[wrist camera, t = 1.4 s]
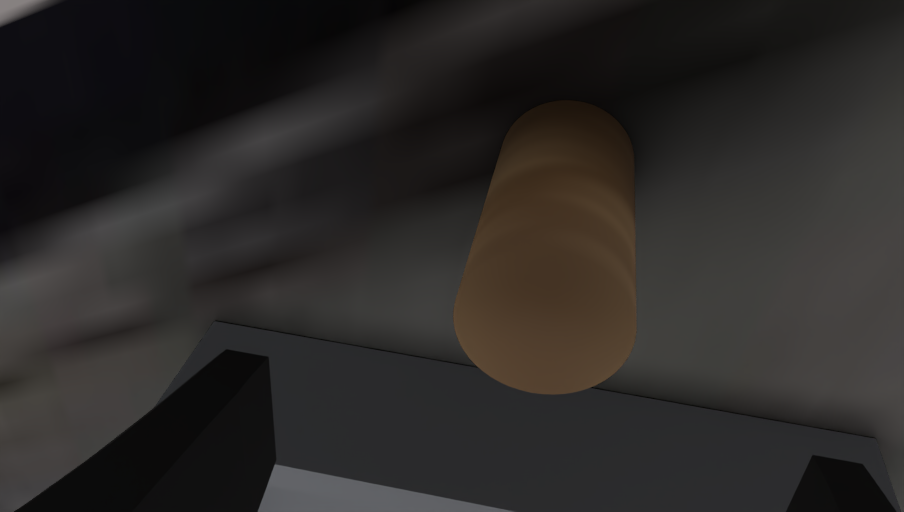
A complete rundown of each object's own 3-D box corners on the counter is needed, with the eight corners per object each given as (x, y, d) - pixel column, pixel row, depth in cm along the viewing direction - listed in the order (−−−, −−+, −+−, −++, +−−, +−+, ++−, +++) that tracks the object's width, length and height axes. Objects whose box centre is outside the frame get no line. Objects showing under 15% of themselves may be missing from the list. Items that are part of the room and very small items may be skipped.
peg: (646, 110, 17) (654, 265, 12) (620, 229, 19) (617, 407, 14) (507, 91, 18) (460, 235, 13) (494, 209, 19) (446, 377, 14)
